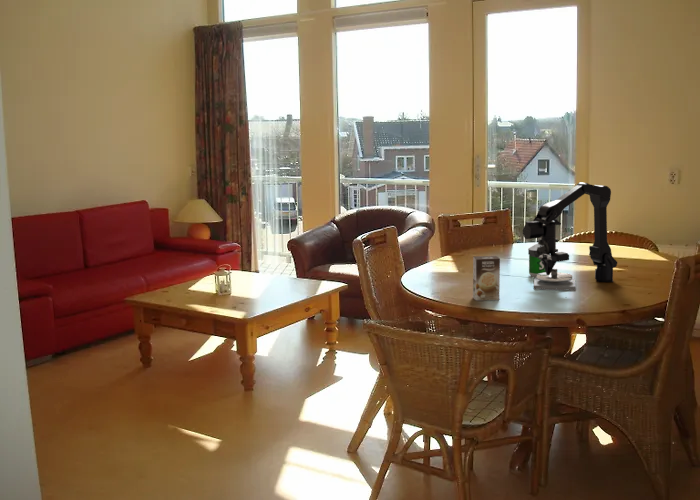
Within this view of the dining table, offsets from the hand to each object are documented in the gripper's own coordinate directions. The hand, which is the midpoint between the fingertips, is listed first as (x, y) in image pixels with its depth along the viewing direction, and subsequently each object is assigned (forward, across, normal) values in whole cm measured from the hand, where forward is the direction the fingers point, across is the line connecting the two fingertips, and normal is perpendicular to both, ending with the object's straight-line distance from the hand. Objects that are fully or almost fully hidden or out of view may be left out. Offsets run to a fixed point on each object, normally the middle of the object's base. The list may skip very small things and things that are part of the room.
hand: (548, 274), depth 299 cm
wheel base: (+5, -1, +4) cm, 7 cm away
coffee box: (+5, +3, -32) cm, 32 cm away
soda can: (+6, -20, +11) cm, 23 cm away
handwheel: (+2, -1, +4) cm, 5 cm away
